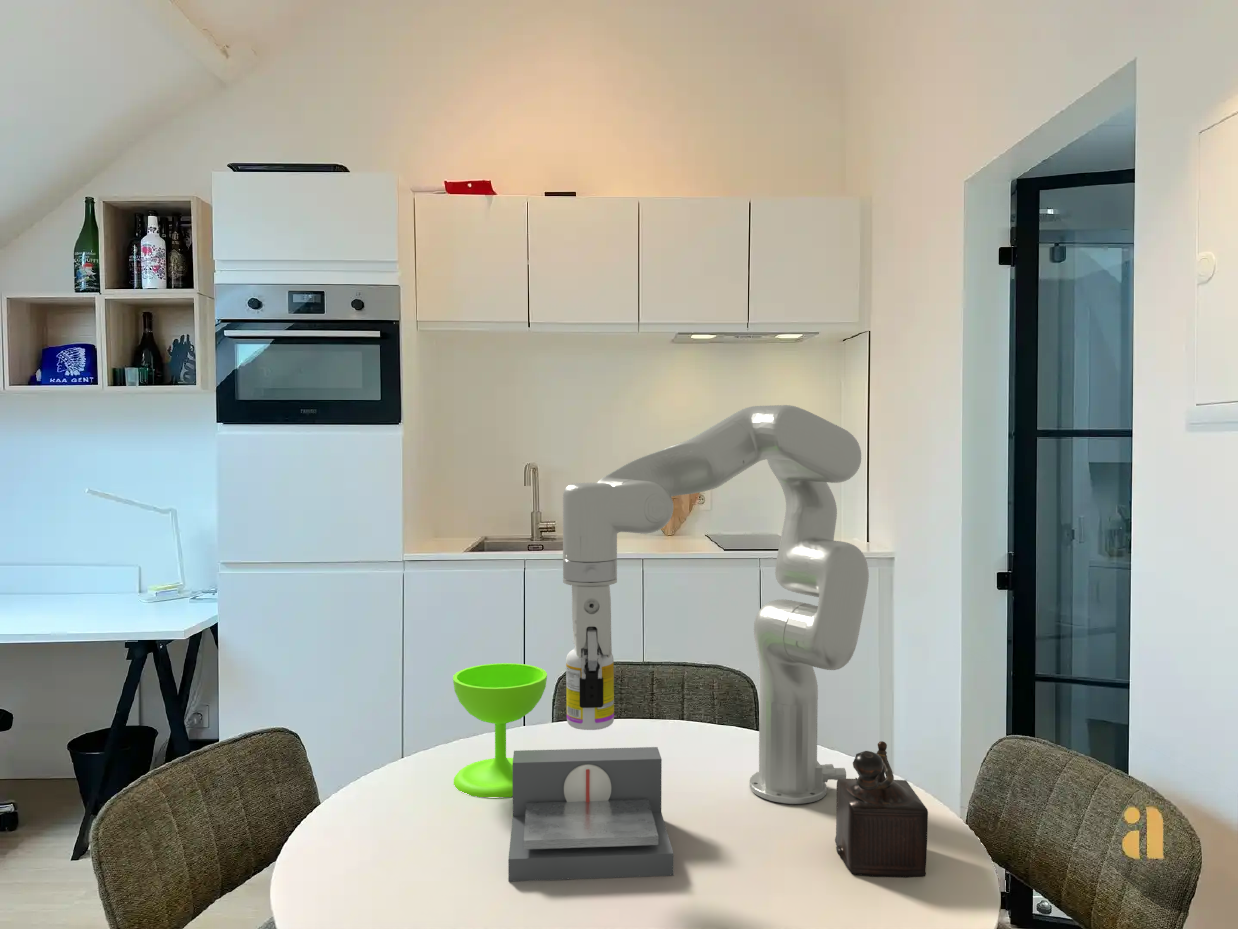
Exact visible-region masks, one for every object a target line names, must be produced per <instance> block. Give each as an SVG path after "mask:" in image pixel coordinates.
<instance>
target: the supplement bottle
mask: <svg viewBox="0 0 1238 929" xmlns="http://www.w3.org/2000/svg"><path fill="white" fill-rule="evenodd" d="M586 639H587V630H586ZM572 643H573V644H574V645H575V642H574V634H573V633H572ZM584 655H588V652H584ZM597 655H598V651H597ZM601 656H602V658H601V659H602V677H603V707H600V708H581V707H580V678H582V676H581V658H580V657H578V656H577V655H576V649H575V647H574V648H573V649H572V650H570V651H569V652H568V653H567V655H566V658H565V663H566V664H565V669H566V670H565V675H566V676H565V679H566V681H565V682H566V685H565V686H566V688H565V690H566V695H565V696H566V722H567V724H568V725H569V726H570V727H571V728H574V729H576V730H582V731H599V730H602V729H606V728H608V727H610V726H612V724H614V720H615V683H614V682H615V681H614V680H615V677H614V676H615V674H614V673H615V671H614V670H615V669H614V667H615V666H614V663H615V662H614V654H612V655H611V656H610V657H607V655H603V653H602V650H601ZM586 662H588V661H585V665H586ZM585 673H586V669H585Z"/></svg>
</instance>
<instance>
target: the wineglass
mask: <svg viewBox="0 0 1238 929" xmlns="http://www.w3.org/2000/svg"><path fill="white" fill-rule="evenodd" d="M547 679H548V673H547V671H546V670H545V669H543V668H541V667H538V666H536V665H535V666H534V665H532V664H526V663H525V664H523V663H513V662H512V663H510V662H503V663H502V662H500V663H486V664H479V665H474V666H469V667H466V668H464V669H461V670H459V671H456V672H455V674H453V675H452V680H453V681H452V682H453V688H454V693H455V694H456V697H457V700H458V702H459V704H460V705H461V706H462V707H463V708H464V709H465V710H466V712H468V714H469V715H471V716H473V717H474V718H475V719H477V720H479V721H481V722H485V723H489V724H494V758H486V759H482V760H478V761H475V762H472V763H469V764H466V766H464V767H462V768H461V769H460V770H458V771H457V773H456V774H455V775H454V778H453V786H454V785H455V786H454V788H455V787H456V788H457V789H458V790H457V789H456V788H455V789H456V790H457V791H458V792H460V791H462V792H464V793H467V794H469V795H468V796H470V795H471V796H470V797H475V796H477V797H476V798H480V797H509V798H513V797H512V796H513V757H507V724H509V723H512V722H515V721H518V720H521V719H522V718H524V717H525V716H526V715H528V714H529V713H530V712H532V711H533V710H534V708H536V706H537V704H538V703H539V702H540V701H541V699H542V697H543V695H544V693H545V690H546V688H547ZM462 792H461V793H462ZM464 793H463V794H464ZM467 794H466V795H467Z"/></svg>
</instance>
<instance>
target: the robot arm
mask: <svg viewBox="0 0 1238 929" xmlns="http://www.w3.org/2000/svg"><path fill="white" fill-rule="evenodd" d="M764 460H766V461H767V464H768V466H769V468H770V470H771V472H772V473H773V474H774V477H776V479H777V481H778V483H779V484H780V487H781V489H782V492H783V494H784V498H785V514H784V520H783V525H782V531H781V536H780V542H779V544H778V551H777V555H776V561H775V569H774V570H775V572H774V574H775V580H776V581H777V584H779V586H781V588H784V589H785V590H787V591H790V592H792V593H796V594H800V595H805V596H809V597H813V598H814V597H816V598H818V602H817V605H815V604H814V605H813V604H811V603H806V602H801V601H796V600H792V599H784V598H783V599H773V600H771V601H769V602H766V603H764V605H762V607H760V609H759V610H758V612H757V613H756V616H755V618H754V623H753V636H754V644H755V647H756V652H757V659H758V668H759V669H758V670H759V705H758V706H759V710H758V711H759V715H758V716H759V718H758V719H759V720H758V721H759V723H758V724H759V725H758V726H759V727H758V728H759V729H758V734H759V735H758V736H759V738H758V739H759V742H758V743H759V744H758V749H759V750H758V771H757V772H756V773H754V774H753V775H751V777H750V778H749V789H750V790H751V791H752V793H754V794H755V795H756V796H758V797H760V798H762V799H764V800H767V801H770V802H775V803H780V804H786V805H787V804H789V805H801V804H802V805H803V804H810V803H814V802H818V801H820V800H822V799H823V798H824V797H825V796H826V794H827V783H828V780H829V781H830V780H833V781H837V780H838V778H846V779H847V771H846V768H845V767H835V766H834V764H833V763H826V764H820V763H819V761H818V712H819V710H818V708H819V706H818V704H819V703H818V699H819V689H818V686H819V685H818V680H817V676H816V672H815V669H814V668H817V669H821V670H826V671H836V670H840V669H842V668H844V667H845V666H847V664H848V663H849V662H850V661H851V660H852V658H853V656H854V653H855V651H856V647H857V644H858V641H859V640H858V639H859V635H860V630H861V625H862V620H863V614H864V609H865V603H866V598H867V592H868V587H869V577H870V576H869V575H870V574H869V566H868V562H867V559H866V556H865V555H864V553H863V551H862V550H861V549H860V548H859V547H857V546H856V545H854V544H852V543H849V542H846V541H841V540H835V532H836V526H837V517H838V508H837V502H836V499H835V496H834V494H833V492H832V489H831V487H830V486H829V484H828V483H831V484H833V483H834V484H839V483H843V482H846V481H848V480H850V479H851V478H853V477H854V476H855V475H856V474H857V473H858V471H859V469H860V466H861V464H862V463H861V462H862V450H861V446H860V444H859V442H858V441H857V438H856V437H855V436H854V435H853V434H852V433H851V432H849V431H848V430H846V429H845V428H843V427H842V426H839V425H837V424H835V423H833V422H831V421H829V420H828V419H825V418H822V417H820V416H819V415H817V414H815V413H812V412H810V411H809V410H806V409H803V408H802V407H799V406H795V405H790V404H789V405H787V404H781V405H779V404H778V405H753V406H749V407H745V408H742V409H739V410H738V411H736V412H734V413H733V414H731V415H730V416H728V417H726V418H724V419H723V420H721V421H719V422H717V423H715V424H714V425H712V426H710V427H709V428H707V429H705V430H703V431H702V432H700V433H699V434H698V433H697V435H695V436H693V437H692V438H689V439H687V440H684V441H682V442H679V443H676V444H673V445H670V446H667V447H665V448H663V449H661V450H658V451H654V452H652V453H649V454H646V455H644V456H642V457H638V458H636V459H634V460H632V461H630V462H628V463H626V464H623V465H622V466H620V467H619V468H617V469H615V470H614V471H612V472H609V474H606V475H605V476H602V478H600V479H599V480H598V481H597V482H576V483H571V484H569V485H567V486H566V487H565V488H564V490H563V492H562V558H563V559H562V583H563V584H565V585H567V586H571V613H572V614H571V618H572V631H573V632H572V635H573V634H574V642H575V644H574V648H575V649H576V655H577V656H578V657H580V658H581V676H582V678H580V707H581V708H600V707H603V677H602V659H601V658H602V656H601V650H602V653H603V655H607V657H610V656H611V655H613V653H612V652H613V651H612V650H613V649H612V600H611V599H612V598H611V586H612V585H614V584H616V583H618V533H632V534H640V535H641V534H645V535H647V534H653V533H655V532H658V531H660V530H661V529H663V528H664V527H666V526H667V525H668V524H669V522H670V520H671V519H672V516H673V512H674V500H673V498H672V497H676V496H683V495H693V494H699V493H703V492H706V491H711V490H716V489H717V488H719V487H721V486H723V485H724V484H726V483H727V482H729V481H730V480H732V479H733V478H735V477H736V476H738V475H739V474H741V473H743V472H744V471H746V470H747V469H749V468H751V467H753V466H754V465H756V464H757V463H759V462H761V461H764ZM586 630H587V639H586ZM574 642H573V643H574ZM597 651H598V655H597ZM584 652H588V655H584ZM585 661H588V662H586V665H585ZM585 669H586V673H585Z"/></svg>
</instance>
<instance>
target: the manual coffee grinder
mask: <svg viewBox="0 0 1238 929" xmlns="http://www.w3.org/2000/svg"><path fill="white" fill-rule="evenodd" d="M877 748H878V750H877V751H876V752H874V751H869V750H864V751H861V752H858V753H856V754H855V758H854V760H853V762H852V767H853V769H854V770H855V771H856V773H857V775H858V777H855V778H847V777H846V778H838V780H836V804H835V805H836V808H835V809H836V814H835V815H836V816H835V819H836V821H835V823H836V825H835V826H836V827H835V837H834V842H835V845H836V846H835V851H836V852H837V854H838V856H839V857H840V859H841V860H842V862H843V864H844V865H845V867H846V868H847V870H848V871H849V872H850V874H852V875H859V876H866V877H877V878H881V877H882V878H885V877H886V878H914V877H915V878H920V877H922V878H923V877H926V875H927V872H926V870H927V853H928V822H929V820H928V819H929V816H928V815H929V811H928V809H927V807H926V805H925V804H924V803H923V802H922V799H920V797H919V796H918V794H916V792H915V791H914V789H913V788H912V786H911V785H910V784H909V782H908V781H907V780H905V779H895V776H894V772H893V770H892V768H891V765H890V763H889V760H888V755H887V754H888V752H887V748H888V744H887V743H886V741H882V740H881V741H879V742H878V743H877Z"/></svg>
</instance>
